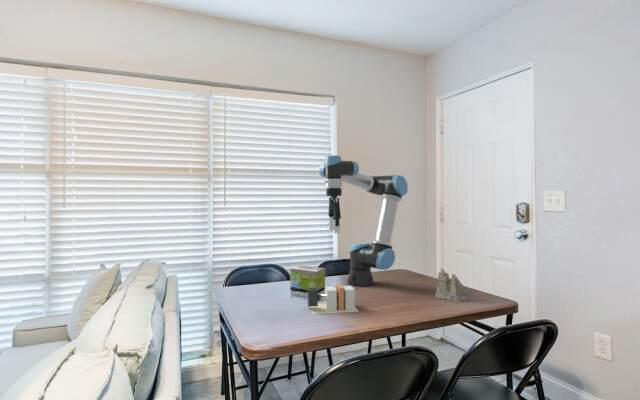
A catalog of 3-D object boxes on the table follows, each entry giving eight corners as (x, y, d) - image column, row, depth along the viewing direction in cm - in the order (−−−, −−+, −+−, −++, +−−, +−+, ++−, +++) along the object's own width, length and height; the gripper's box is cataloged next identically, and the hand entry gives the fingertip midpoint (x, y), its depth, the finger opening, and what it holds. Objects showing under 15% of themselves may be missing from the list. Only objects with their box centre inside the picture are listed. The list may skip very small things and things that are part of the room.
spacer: (340, 304, 161) (340, 283, 161) (343, 310, 153) (343, 288, 153) (335, 304, 161) (335, 283, 161) (339, 310, 153) (339, 288, 153)
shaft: (347, 302, 159) (347, 286, 159) (349, 304, 155) (349, 288, 155) (307, 303, 157) (307, 288, 157) (308, 306, 153) (308, 290, 153)
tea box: (289, 297, 177) (289, 268, 177) (300, 293, 186) (300, 264, 186) (316, 302, 170) (316, 271, 170) (325, 296, 179) (325, 267, 179)
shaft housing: (351, 305, 165) (351, 283, 165) (358, 315, 151) (358, 291, 151) (308, 307, 162) (308, 285, 162) (312, 317, 148) (312, 293, 148)
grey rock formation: (460, 303, 167) (459, 270, 168) (428, 297, 179) (428, 267, 180) (474, 298, 178) (474, 268, 178) (444, 293, 190) (444, 265, 191)
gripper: (322, 188, 184) (323, 229, 184) (330, 187, 159) (331, 234, 160) (336, 187, 185) (337, 228, 185) (346, 187, 160) (347, 234, 161)
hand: (334, 231), depth 172 cm, fingers open, 13 cm apart
